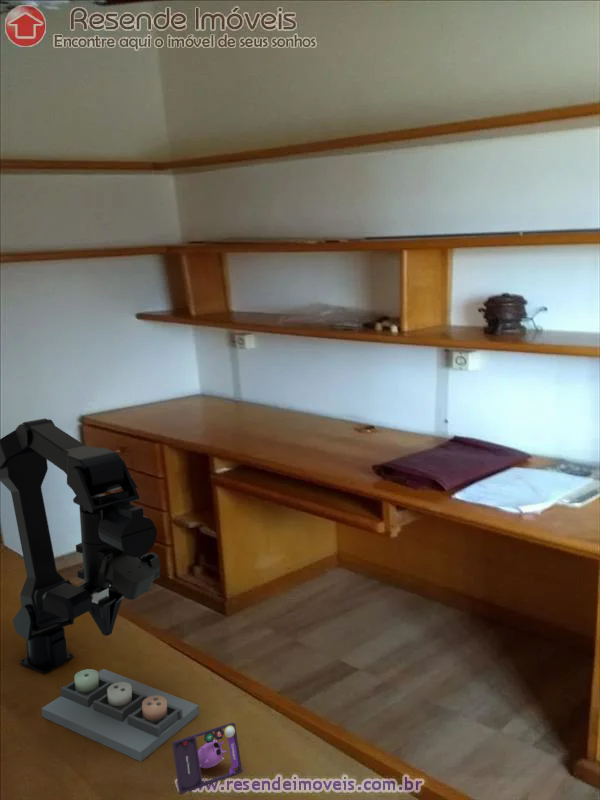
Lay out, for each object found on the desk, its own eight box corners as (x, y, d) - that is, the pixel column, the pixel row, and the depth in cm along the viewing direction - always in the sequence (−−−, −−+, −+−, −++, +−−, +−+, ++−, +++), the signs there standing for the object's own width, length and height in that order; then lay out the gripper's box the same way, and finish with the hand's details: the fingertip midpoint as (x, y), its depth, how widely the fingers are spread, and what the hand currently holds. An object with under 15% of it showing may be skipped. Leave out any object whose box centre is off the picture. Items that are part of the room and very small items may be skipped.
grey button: (102, 701, 120) (102, 690, 119) (119, 689, 123) (119, 679, 122) (120, 708, 118) (119, 697, 118) (137, 696, 121) (136, 685, 121)
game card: (174, 743, 104) (236, 723, 108) (162, 735, 108) (222, 716, 113) (182, 796, 103) (244, 773, 108) (169, 785, 108) (230, 764, 112)
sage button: (70, 688, 123) (69, 677, 123) (87, 677, 126) (86, 666, 126) (86, 694, 121) (85, 683, 121) (103, 683, 124) (103, 672, 124)
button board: (42, 717, 121) (40, 700, 120) (104, 676, 131) (103, 661, 131) (140, 761, 110) (139, 743, 110) (199, 714, 121) (198, 697, 121)
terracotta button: (137, 715, 116) (136, 704, 116) (153, 703, 119) (153, 692, 119) (156, 723, 114) (155, 712, 114) (172, 710, 117) (171, 699, 117)
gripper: (94, 572, 104) (100, 679, 107) (185, 527, 120) (188, 622, 123) (36, 554, 110) (44, 656, 113) (130, 514, 125) (134, 605, 129)
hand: (107, 634), depth 119 cm, fingers closed
